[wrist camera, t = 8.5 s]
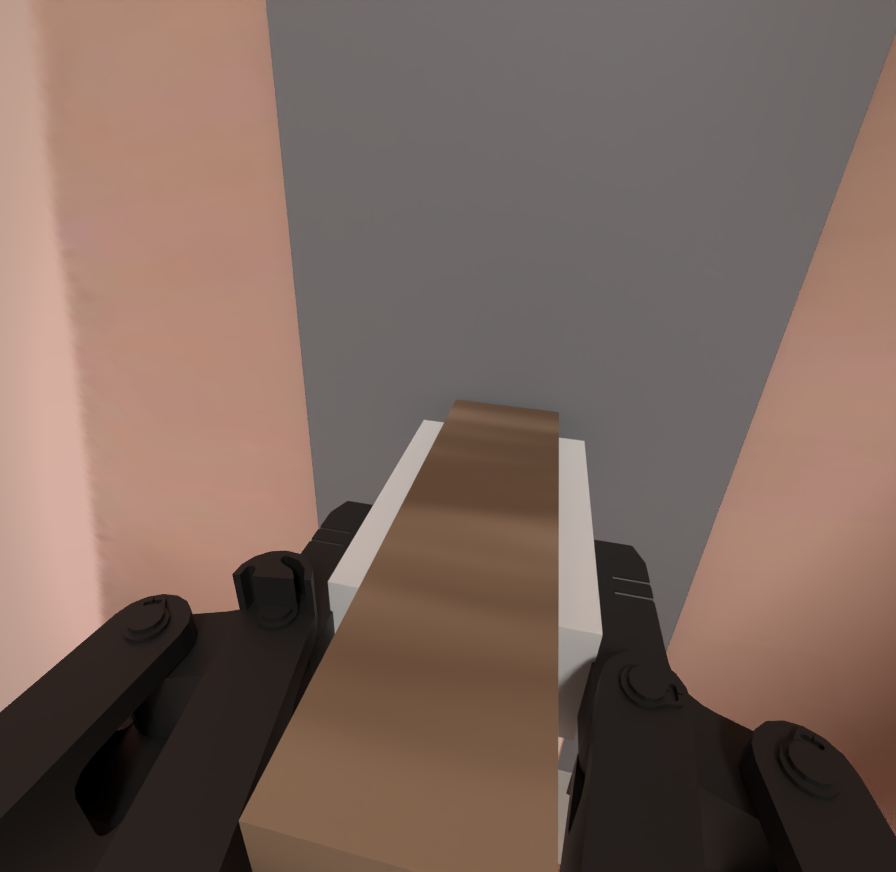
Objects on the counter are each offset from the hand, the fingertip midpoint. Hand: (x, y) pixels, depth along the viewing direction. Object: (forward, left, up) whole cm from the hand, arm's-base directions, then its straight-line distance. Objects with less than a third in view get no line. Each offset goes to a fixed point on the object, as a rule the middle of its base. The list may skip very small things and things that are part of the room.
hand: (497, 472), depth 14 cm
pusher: (+3, 0, -1) cm, 3 cm away
